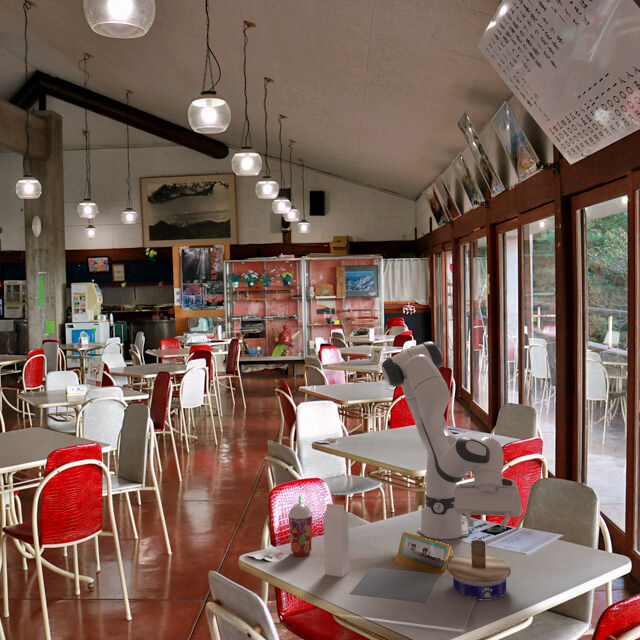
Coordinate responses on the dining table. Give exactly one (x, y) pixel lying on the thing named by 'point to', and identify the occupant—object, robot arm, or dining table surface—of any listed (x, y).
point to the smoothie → (300, 529)
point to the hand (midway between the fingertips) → (487, 527)
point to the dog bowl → (480, 588)
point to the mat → (396, 584)
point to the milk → (336, 540)
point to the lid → (479, 565)
